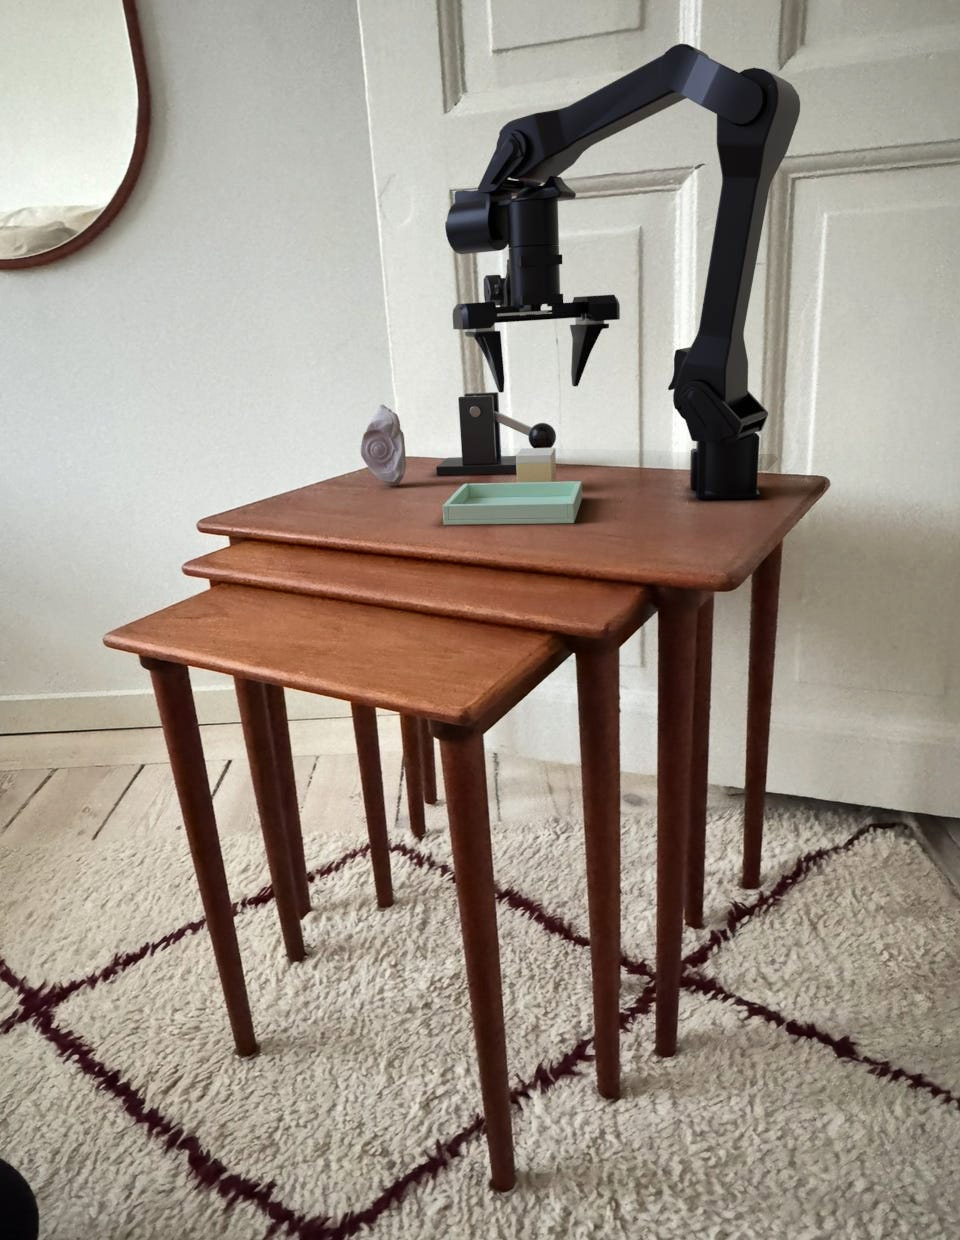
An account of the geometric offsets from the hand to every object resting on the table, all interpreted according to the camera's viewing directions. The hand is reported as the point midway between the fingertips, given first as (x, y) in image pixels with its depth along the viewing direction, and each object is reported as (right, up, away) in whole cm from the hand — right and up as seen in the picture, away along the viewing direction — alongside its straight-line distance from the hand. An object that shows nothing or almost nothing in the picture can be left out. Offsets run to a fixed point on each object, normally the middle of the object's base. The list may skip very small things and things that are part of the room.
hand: (538, 389), depth 106 cm
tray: (-3, -16, -12) cm, 20 cm away
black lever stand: (-7, -7, +13) cm, 16 cm away
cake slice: (0, -12, -2) cm, 12 cm away
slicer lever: (-3, -3, +11) cm, 12 cm away
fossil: (-18, -11, +6) cm, 22 cm away
